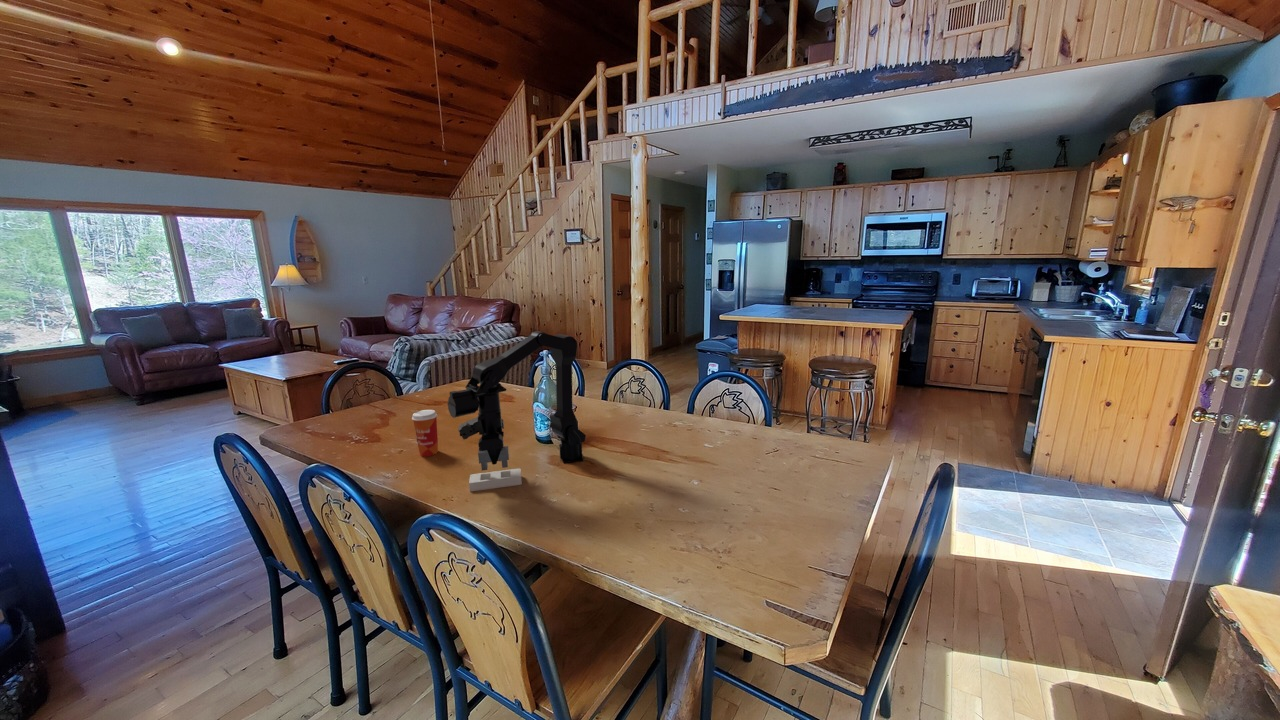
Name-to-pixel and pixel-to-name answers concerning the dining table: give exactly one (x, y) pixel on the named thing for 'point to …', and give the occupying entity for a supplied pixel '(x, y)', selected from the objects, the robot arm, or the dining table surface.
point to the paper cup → (426, 432)
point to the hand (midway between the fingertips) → (494, 461)
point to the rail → (495, 479)
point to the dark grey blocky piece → (485, 458)
